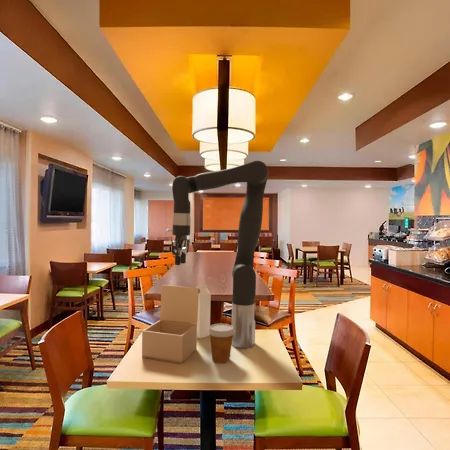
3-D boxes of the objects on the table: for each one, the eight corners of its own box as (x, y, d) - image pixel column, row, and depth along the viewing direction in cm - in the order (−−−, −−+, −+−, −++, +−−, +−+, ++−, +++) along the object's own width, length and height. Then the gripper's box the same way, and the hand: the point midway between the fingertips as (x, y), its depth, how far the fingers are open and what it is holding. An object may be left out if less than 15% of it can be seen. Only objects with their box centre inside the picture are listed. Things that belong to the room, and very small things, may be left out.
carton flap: (196, 323, 134) (204, 318, 142) (198, 288, 134) (205, 285, 143) (160, 319, 139) (169, 314, 147) (161, 285, 139) (170, 282, 147)
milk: (210, 335, 150) (211, 285, 149) (199, 338, 146) (200, 287, 145) (201, 331, 154) (202, 283, 153) (190, 334, 150) (191, 285, 149)
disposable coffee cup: (236, 356, 128) (237, 324, 128) (230, 366, 119) (230, 333, 119) (212, 352, 131) (213, 322, 131) (204, 363, 122) (204, 330, 121)
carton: (196, 349, 134) (196, 324, 134) (181, 363, 121) (182, 336, 121) (159, 344, 139) (160, 319, 139) (141, 357, 125) (142, 330, 125)
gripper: (182, 224, 136) (181, 267, 136) (196, 224, 150) (194, 262, 150) (165, 224, 138) (164, 265, 139) (180, 223, 152) (179, 261, 152)
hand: (180, 263), depth 144 cm, fingers open, 5 cm apart
